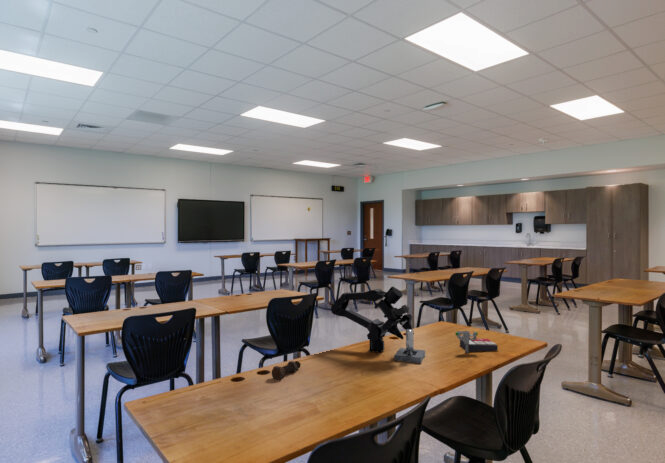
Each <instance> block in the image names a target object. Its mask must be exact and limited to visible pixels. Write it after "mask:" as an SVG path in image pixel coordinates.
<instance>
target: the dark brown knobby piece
mask: <svg viewBox="0 0 665 463" xmlns="http://www.w3.org/2000/svg"><path fill="white" fill-rule="evenodd" d="M301 366H302V364H301V362H299V361H298V360H296V361H294V360H293V361H292V360H290V361H288V363H287V364H286V365H283V366H278V365H275V366H274V367H273V368H272V370H271V377H272V379H274V380H277V381H281V380H283V378H284V376H285V375H288V374H289V373H296V372H297V370H298V369H300V368H301Z"/></svg>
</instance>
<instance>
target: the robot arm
mask: <svg viewBox="0 0 665 463" xmlns="http://www.w3.org/2000/svg"><path fill="white" fill-rule="evenodd" d="M402 297H403V293H402V291H401V290H399V289H398V288H397V287H395V286H391V287H390V288H389V289H388V290H387V291H383V289H382V288H375V289H371V290H367V291H357V292H354V291H353V292H344V293H342V294H340V296H339V297H338V299H337V300H335V301H334V303H332V304H331V306H330V311H331V313H332V314H333V315H335V316H337V317H343V318H346V319H349V320H350V321H352V322H354V323H357V325H360V326H362V327H363V328H366V329H367V331H368V333H367V334H366V336H367V340H369V349H368V352H370V351H374V352H373V353H382V352H383V351H384V350H385V340H384V338H385V337H386V334H387V333H390V334H391V335H393V336H395V337H397V338H399V339H401V340H404V338H405V337H404V336H403V334H402V332H401V331H400V329H399V327H398V325H400V326H401V328H403V329H404V330H405V331H406V330H407V329H412V330H413V336H414V335H415V333H414V329H413V327H412V323H411V322H412V318H413V316H412V314H410V313H409V312H410V307H408V305H407V304H404V305H401V307H399V308H397V307H394V306H393V305H395V304H397V303H398V301H399V300H401V299H402ZM359 300H361V301H362V300H364V301H368V302H376V303H375V304H374V309H375V310H377V309H380V310H381V312H382V314H383V318H385V319H386V321H381V320H380V319H379V318H376V319H373V320H372V319H369V318H367V317H365V316H364V315H361V313H358V312H356V311H354V310H352V309H351V308H350V307H349V305H350V301H359Z"/></svg>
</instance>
